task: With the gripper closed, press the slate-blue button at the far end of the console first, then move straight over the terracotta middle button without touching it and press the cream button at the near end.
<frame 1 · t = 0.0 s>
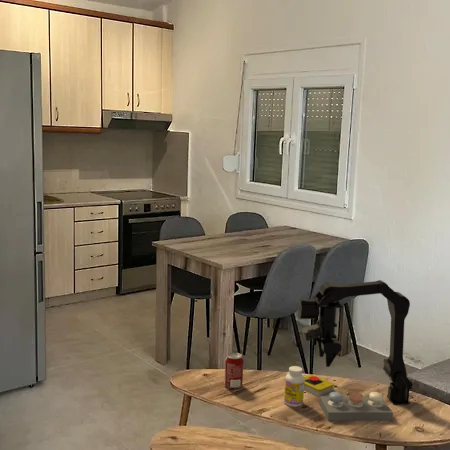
hand: (324, 361, 206), 15 cm above the table, tool pointing down, fingers open, 9 cm apart
soda can: (233, 386, 218), on the table
supplement bottle: (293, 403, 206), on the table
terracotta button: (355, 397, 200), point 6 cm above the table, slide at 0.0 cm
cream button: (375, 397, 200), point 6 cm above the table, slide at 0.0 cm
slate button: (335, 397, 199), point 6 cm above the table, slide at 0.0 cm
emergency button: (315, 390, 219), on the table
console: (354, 412, 201), on the table
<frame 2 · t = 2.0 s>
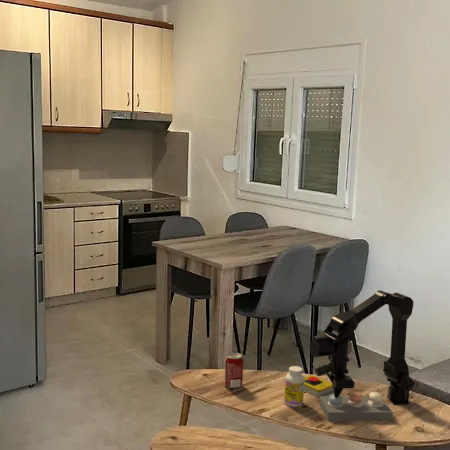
hand: (336, 397, 199), 6 cm above the table, tool pointing down, fingers closed, pressing on slate button
slate button: (335, 399, 199), point 5 cm above the table, slide at 0.8 cm, touching gripper
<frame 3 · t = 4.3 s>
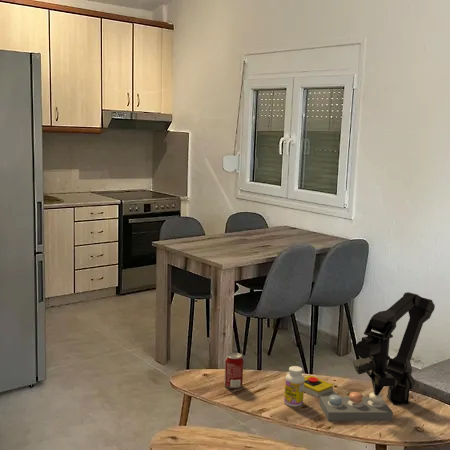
hand: (376, 395, 200), 6 cm above the table, tool pointing down, fingers closed, pressing on cream button
cream button: (375, 397, 200), point 5 cm above the table, slide at 0.1 cm, touching gripper
slate button: (335, 400, 199), point 4 cm above the table, slide at 1.0 cm
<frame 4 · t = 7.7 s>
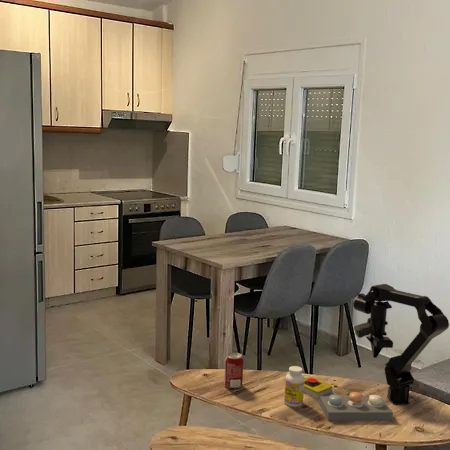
hand: (374, 357, 220), 12 cm above the table, tool pointing down, fingers closed
cream button: (375, 400, 201), point 4 cm above the table, slide at 1.0 cm
at the end: slate button slide at 1.0 cm; cream button slide at 1.0 cm; terracotta button slide at 0.0 cm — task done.
